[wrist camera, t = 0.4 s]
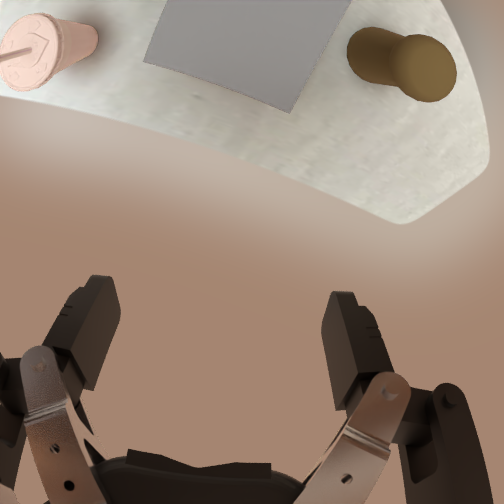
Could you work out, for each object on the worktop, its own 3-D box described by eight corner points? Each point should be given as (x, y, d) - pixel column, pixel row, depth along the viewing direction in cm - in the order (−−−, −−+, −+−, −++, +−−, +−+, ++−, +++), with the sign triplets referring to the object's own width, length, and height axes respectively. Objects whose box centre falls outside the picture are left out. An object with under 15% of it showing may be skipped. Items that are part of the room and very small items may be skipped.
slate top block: (213, -52, 14) (205, -71, 10) (336, -3, 16) (358, -11, 13) (162, 56, 20) (142, 61, 16) (281, 98, 22) (289, 113, 18)
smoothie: (114, 60, 23) (29, 90, 12) (62, 78, 23) (-30, 122, 13) (106, 4, 19) (16, -1, 8) (53, 25, 19) (-45, 44, 9)
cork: (399, 27, 21) (466, 35, 13) (404, 82, 25) (468, 113, 16) (342, 27, 22) (393, 26, 13) (350, 85, 26) (400, 114, 17)
